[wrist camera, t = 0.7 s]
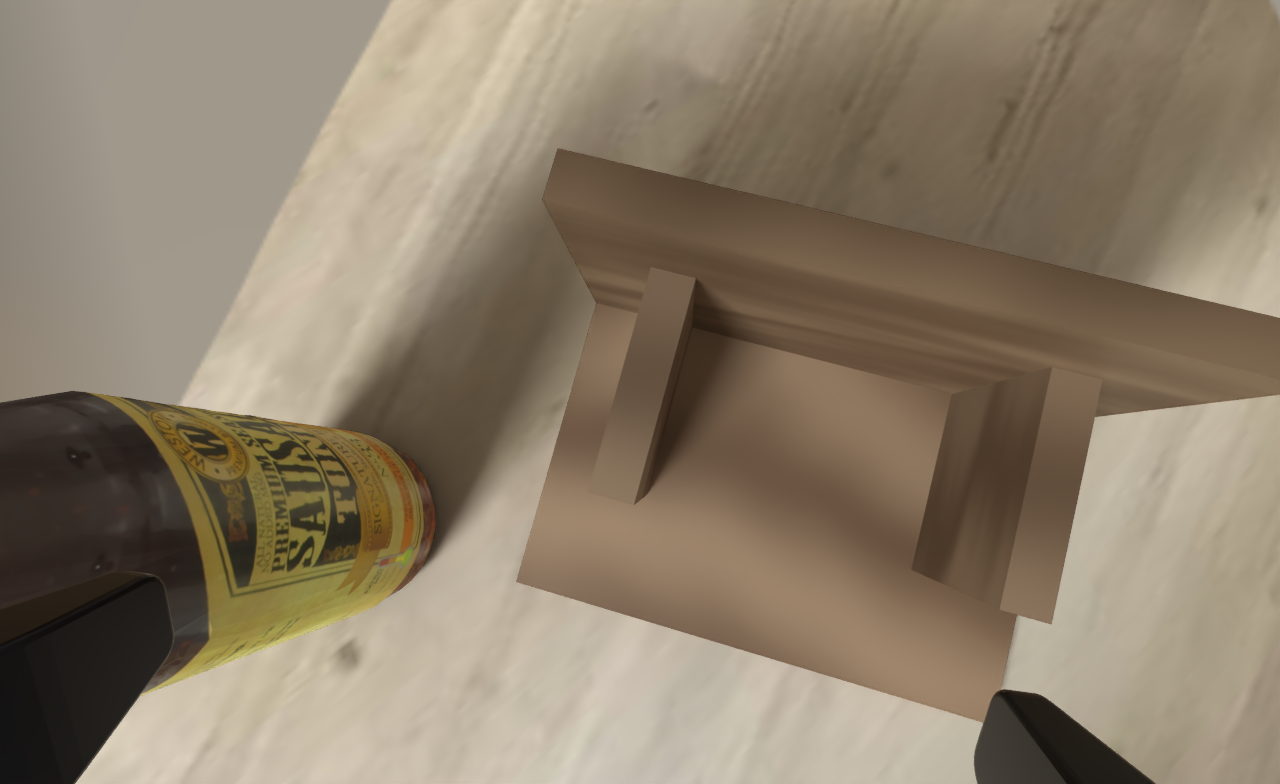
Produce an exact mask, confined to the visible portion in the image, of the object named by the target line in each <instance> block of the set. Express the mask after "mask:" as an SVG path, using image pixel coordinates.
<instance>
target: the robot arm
mask: <svg viewBox="0 0 1280 784" xmlns="http://www.w3.org/2000/svg"><path fill="white" fill-rule="evenodd" d="M173 643H174V630H173V624H172V619H171V614H170V609H169V604H168V599H167V594H166V588H165V585H164V583H163V581H162V580H161V579H160V578H159V577H158V576H156V575H153V574H148V573H141V572H134V571H116V572H112V573H109V574H106V575H103V576H99V577H96V578H93V579H90V580H87V581H84V582H81V583H78V584H75V585H72V586H69V587H66V588H63V589H60V590H57V591H54V592H51V593H47V594H44V595H41V596H38V597H35V598H32V599H29V600H26V601H23V602H20V603H17V604H14V605H11V606H8V607H5V608H2V609H0V784H75V783H76V782H77V780H78V779H79V778H80V776H81V775H82V774H83V773H84V771H85V770H86V769H87V767H88V766H89V764H90V763H91V762H92V760H93V759H94V758H95V756H96V755H97V754H98V752H99V751H100V749H101V748H102V747H103V745H104V744H105V743H106V741H107V740H108V738H109V737H110V736H111V734H112V733H113V732H114V730H115V729H116V728H117V726H118V725H119V723H120V722H121V721H122V719H123V718H124V717H125V715H126V714H127V712H128V711H129V710H130V708H131V707H132V706H133V704H134V703H135V702H136V700H137V699H138V697H139V696H140V695H141V693H142V692H143V691H144V689H145V688H146V687H147V685H148V684H149V682H150V681H151V680H152V678H153V677H154V676H155V674H156V673H157V671H158V670H159V669H160V667H161V666H162V665H163V663H164V662H165V660H166V659H167V657H168V656H169V654H170V651H171V649H172V646H173ZM974 768H975V775H976V780H977V784H1156V783H1154V782H1153V781H1152V780H1151V779H1149V778H1148V777H1147V776H1145V775H1144V774H1143V773H1142V772H1140V771H1139V770H1138V769H1136V768H1135V767H1134V766H1133V765H1131V764H1130V763H1129V762H1127V761H1126V760H1125V759H1124V758H1122V757H1121V756H1120V755H1119V754H1117V753H1116V752H1115V751H1113V750H1112V749H1111V748H1110V747H1108V746H1107V745H1106V744H1104V743H1103V742H1102V741H1101V740H1099V739H1098V738H1097V737H1096V736H1094V735H1093V734H1092V733H1090V732H1089V731H1088V730H1087V729H1085V728H1084V727H1083V726H1081V725H1080V724H1079V723H1078V722H1076V721H1075V720H1074V719H1072V718H1071V717H1070V716H1069V715H1067V714H1066V713H1065V712H1064V711H1062V710H1061V709H1060V708H1058V707H1057V706H1056V705H1055V704H1053V703H1052V702H1051V701H1049V700H1048V699H1047V698H1045V697H1043V696H1041V695H1038V694H1035V693H1027V692H1020V691H1013V690H1000V691H997V692H996V693H995V694H994V695H993V697H992V699H991V701H990V704H989V707H988V710H987V713H986V717H985V720H984V723H983V726H982V729H981V732H980V735H979V738H978V741H977V745H976V748H975V754H974Z"/></svg>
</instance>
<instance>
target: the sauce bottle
mask: <svg viewBox="0 0 1280 784" xmlns="http://www.w3.org/2000/svg"><path fill="white" fill-rule="evenodd" d="M435 527H436V516H435V510H434V503H433V500H432V496H431V492H430V489H429V487H428V485H427V483H426V478H425V476H424V475H423V474H422V473H421V472H420V471H419V470H418V468H417V466H416V464H415V462H414V461H413V460H412V459H410V458H408V457H407V456H406V455H405V454H403V453H401V452H399V451H398V450H396V449H394V448H392V447H390V446H389V445H388V444H385V443H383V442H381V441H380V440H378V439H376V438H374V437H372V436H370V435H366V434H363V433H358V432H353V431H347V430H341V429H334V428H327V427H321V426H314V425H306V424H298V423H291V422H285V421H278V420H273V419H266V418H261V417H256V416H251V415H238V414H232V413H225V412H216V411H210V410H205V409H198V408H191V407H183V406H176V405H166V404H160V403H154V402H148V401H141V400H136V399H131V398H123V397H115V396H108V395H102V394H94V393H87V392H76V391H70V392H64V393H57V394H51V395H45V396H39V397H32V398H26V399H20V400H14V401H8V402H2V403H0V609H2V608H5V607H8V606H11V605H14V604H17V603H20V602H23V601H26V600H29V599H32V598H35V597H38V596H41V595H44V594H47V593H51V592H54V591H57V590H60V589H63V588H66V587H69V586H72V585H75V584H78V583H81V582H84V581H87V580H90V579H93V578H96V577H99V576H103V575H106V574H109V573H112V572H116V571H134V572H141V573H148V574H153V575H156V576H158V577H159V578H160V579H161V580H162V581H163V583H164V585H165V588H166V594H167V599H168V604H169V609H170V614H171V619H172V624H173V630H174V643H173V646H172V649H171V651H170V654H169V656H168V657H167V659H166V660H165V662H164V663H163V665H162V666H161V667H160V669H159V670H158V671H157V673H156V674H155V676H154V677H153V678H152V680H151V681H150V682H149V684H148V685H147V687H146V688H145V689H144V691H143V692H142V693H141V695H144V694H146V693H149V692H152V691H154V690H157V689H160V688H162V687H165V686H168V685H170V684H173V683H176V682H178V681H181V680H184V679H186V678H189V677H192V676H194V675H197V674H199V673H202V672H205V671H207V670H210V669H212V668H215V667H218V666H220V665H223V664H225V663H228V662H231V661H233V660H236V659H239V658H241V657H244V656H247V655H249V654H252V653H255V652H257V651H260V650H263V649H265V648H268V647H271V646H273V645H276V644H279V643H282V642H284V641H287V640H290V639H292V638H295V637H298V636H301V635H303V634H306V633H309V632H312V631H314V630H317V629H320V628H322V627H325V626H328V625H331V624H333V623H336V622H338V621H341V620H344V619H346V618H349V617H351V616H354V615H356V614H359V613H361V612H364V611H366V610H368V609H370V608H372V607H374V606H376V605H377V604H378V603H380V602H381V601H382V600H383V599H385V598H387V597H389V596H391V595H392V594H394V593H395V592H397V591H399V590H400V589H402V588H403V587H404V586H405V585H406V584H408V583H409V582H410V581H411V580H412V579H413V578H414V576H415V575H416V574H417V573H418V571H419V570H420V569H421V567H422V566H423V564H424V562H425V560H426V557H427V555H428V554H429V552H430V549H431V546H432V541H433V539H434V532H435ZM141 695H140V696H141Z"/></svg>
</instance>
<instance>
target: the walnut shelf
mask: <svg viewBox="0 0 1280 784" xmlns="http://www.w3.org/2000/svg"><path fill="white" fill-rule="evenodd" d="M542 200H543V202H544V204H545V206H546V208H547V210H548V212H549V213H550V215H551V217H552V219H553V221H554V223H555V225H556V227H557V229H558V231H559V233H560V234H561V236H562V238H563V240H564V242H565V244H566V246H567V248H568V250H569V252H570V254H571V255H572V257H573V259H574V261H575V263H576V265H577V267H578V269H579V271H580V273H581V275H582V276H583V278H584V280H585V282H586V284H587V286H588V288H589V290H590V292H591V294H592V296H593V297H594V299H595V301H596V306H595V309H594V313H593V316H592V320H591V323H590V327H589V330H588V334H587V337H586V341H585V344H584V348H583V351H582V355H581V358H580V362H579V365H578V369H577V372H576V376H575V379H574V383H573V386H572V390H571V393H570V396H569V400H568V403H567V407H566V410H565V414H564V417H563V421H562V424H561V428H560V431H559V435H558V438H557V442H556V445H555V449H554V452H553V456H552V459H551V463H550V466H549V470H548V473H547V477H546V480H545V483H544V487H543V490H542V494H541V497H540V501H539V504H538V508H537V511H536V515H535V518H534V522H533V525H532V529H531V532H530V536H529V539H528V543H527V546H526V550H525V553H524V557H523V560H522V564H521V567H520V570H519V574H518V577H517V581H516V582H519V583H522V584H525V585H528V586H532V587H535V588H538V589H542V590H545V591H548V592H552V593H555V594H558V595H562V596H565V597H568V598H572V599H575V600H578V601H582V602H585V603H588V604H592V605H595V606H598V607H602V608H605V609H608V610H612V611H615V612H618V613H621V614H625V615H628V616H631V617H635V618H638V619H641V620H645V621H648V622H651V623H655V624H658V625H661V626H665V627H668V628H671V629H675V630H678V631H681V632H685V633H688V634H691V635H695V636H698V637H701V638H705V639H708V640H711V641H714V642H718V643H721V644H724V645H728V646H731V647H734V648H738V649H741V650H744V651H748V652H751V653H754V654H758V655H761V656H764V657H768V658H771V659H774V660H778V661H781V662H784V663H788V664H791V665H794V666H798V667H801V668H804V669H807V670H811V671H814V672H817V673H821V674H824V675H827V676H831V677H834V678H837V679H841V680H844V681H847V682H851V683H854V684H857V685H861V686H864V687H867V688H871V689H874V690H877V691H881V692H884V693H887V694H891V695H894V696H897V697H900V698H904V699H907V700H910V701H914V702H917V703H920V704H924V705H927V706H930V707H934V708H937V709H940V710H944V711H947V712H950V713H954V714H957V715H960V716H964V717H967V718H970V719H974V720H977V721H980V722H984V720H985V717H986V713H987V710H988V707H989V704H990V701H991V699H992V697H993V695H994V694H995V693H996V692H997V691H1000V690H1001V686H1002V681H1003V676H1004V672H1005V667H1006V662H1007V658H1008V653H1009V648H1010V643H1011V639H1012V634H1013V629H1014V625H1015V620H1016V615H1020V616H1024V617H1027V618H1031V619H1034V620H1038V621H1041V622H1045V623H1048V624H1052V619H1053V614H1054V610H1055V605H1056V600H1057V595H1058V591H1059V586H1060V581H1061V576H1062V571H1063V567H1064V562H1065V557H1066V552H1067V547H1068V543H1069V538H1070V533H1071V528H1072V523H1073V519H1074V514H1075V509H1076V504H1077V500H1078V495H1079V490H1080V485H1081V480H1082V476H1083V471H1084V466H1085V461H1086V456H1087V452H1088V447H1089V442H1090V437H1091V433H1092V428H1093V423H1094V418H1095V417H1098V416H1106V415H1114V414H1123V413H1131V412H1139V411H1148V410H1156V409H1164V408H1172V407H1181V406H1189V405H1197V404H1206V403H1214V402H1222V401H1230V400H1239V399H1247V398H1255V397H1264V396H1272V395H1280V318H1277V317H1273V316H1269V315H1264V314H1260V313H1256V312H1252V311H1247V310H1243V309H1239V308H1235V307H1230V306H1226V305H1222V304H1218V303H1213V302H1209V301H1205V300H1201V299H1196V298H1192V297H1188V296H1184V295H1179V294H1175V293H1171V292H1167V291H1162V290H1158V289H1154V288H1150V287H1145V286H1141V285H1137V284H1133V283H1128V282H1124V281H1120V280H1116V279H1111V278H1107V277H1103V276H1099V275H1094V274H1090V273H1086V272H1082V271H1077V270H1073V269H1069V268H1065V267H1060V266H1056V265H1052V264H1047V263H1043V262H1039V261H1035V260H1030V259H1026V258H1022V257H1018V256H1013V255H1009V254H1005V253H1001V252H996V251H992V250H988V249H984V248H979V247H975V246H971V245H967V244H962V243H958V242H954V241H950V240H945V239H941V238H937V237H933V236H928V235H924V234H920V233H916V232H911V231H907V230H903V229H899V228H894V227H890V226H886V225H882V224H877V223H873V222H869V221H865V220H860V219H856V218H852V217H848V216H843V215H839V214H835V213H830V212H826V211H822V210H818V209H813V208H809V207H805V206H801V205H796V204H792V203H788V202H784V201H779V200H775V199H771V198H767V197H762V196H758V195H754V194H750V193H745V192H741V191H737V190H733V189H728V188H724V187H720V186H716V185H711V184H707V183H703V182H699V181H694V180H690V179H686V178H682V177H677V176H673V175H669V174H665V173H660V172H656V171H652V170H648V169H643V168H639V167H635V166H631V165H626V164H622V163H618V162H613V161H609V160H605V159H601V158H596V157H592V156H588V155H584V154H579V153H575V152H571V151H567V150H562V149H557V152H556V155H555V159H554V162H553V165H552V169H551V172H550V175H549V179H548V182H547V185H546V189H545V192H544V195H543V199H542Z"/></svg>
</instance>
